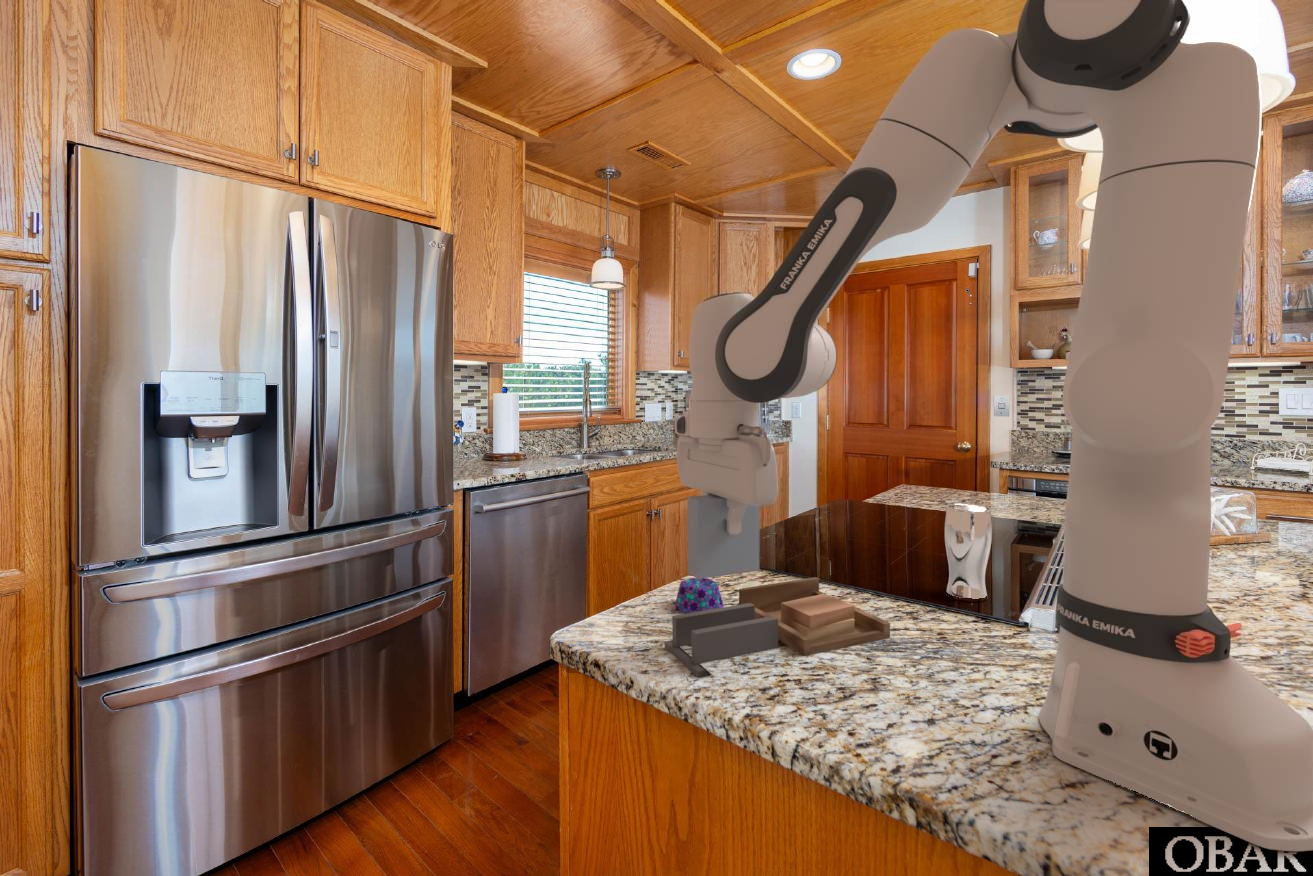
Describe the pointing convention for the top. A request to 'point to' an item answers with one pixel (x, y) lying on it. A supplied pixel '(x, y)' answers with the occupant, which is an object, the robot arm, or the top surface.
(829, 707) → the top surface
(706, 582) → the purple rounded dome
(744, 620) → the holder
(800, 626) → the offcut low
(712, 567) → the gray rectangular block
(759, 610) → the tray
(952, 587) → the beer glass
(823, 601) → the offcut top
